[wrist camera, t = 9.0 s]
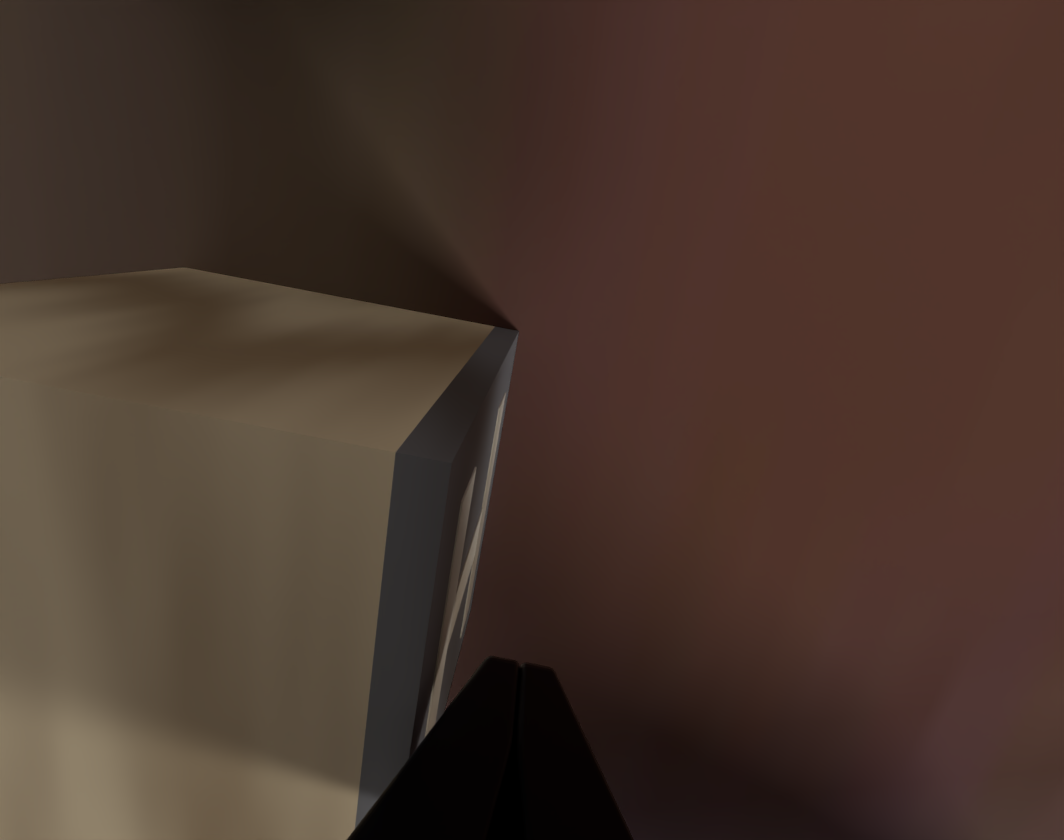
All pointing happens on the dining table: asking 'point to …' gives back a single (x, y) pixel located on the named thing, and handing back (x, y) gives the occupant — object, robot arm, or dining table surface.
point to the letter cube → (230, 550)
